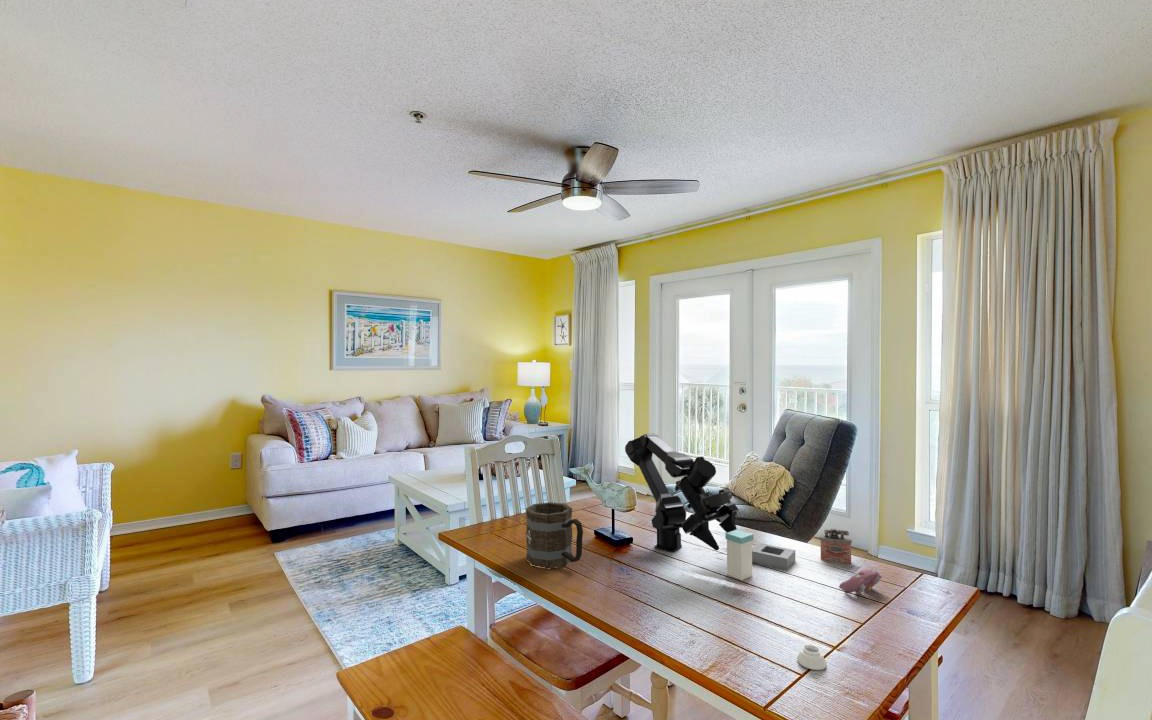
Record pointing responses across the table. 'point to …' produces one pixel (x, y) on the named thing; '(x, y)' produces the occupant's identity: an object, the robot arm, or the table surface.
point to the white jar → (811, 657)
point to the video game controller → (861, 581)
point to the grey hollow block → (773, 556)
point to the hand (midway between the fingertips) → (728, 545)
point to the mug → (551, 535)
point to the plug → (739, 554)
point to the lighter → (836, 546)
